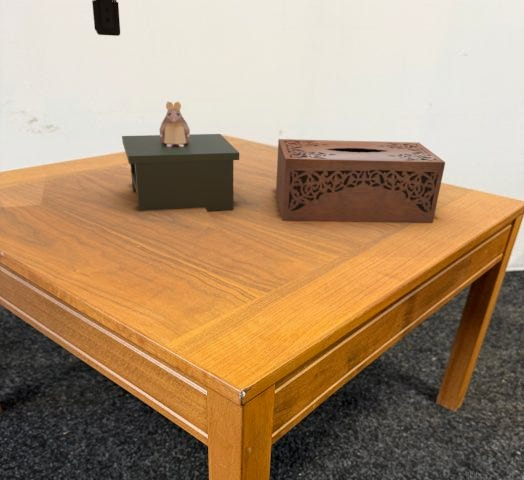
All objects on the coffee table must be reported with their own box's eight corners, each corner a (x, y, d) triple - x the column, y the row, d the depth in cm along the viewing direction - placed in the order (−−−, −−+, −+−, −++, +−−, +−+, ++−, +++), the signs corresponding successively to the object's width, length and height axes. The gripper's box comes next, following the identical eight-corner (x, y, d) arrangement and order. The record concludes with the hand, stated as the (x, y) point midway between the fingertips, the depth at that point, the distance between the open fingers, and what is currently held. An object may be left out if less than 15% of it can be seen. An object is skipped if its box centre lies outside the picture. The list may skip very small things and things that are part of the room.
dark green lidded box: (133, 215, 91) (128, 156, 86) (127, 189, 103) (121, 135, 98) (238, 209, 96) (239, 152, 91) (220, 185, 108) (220, 133, 103)
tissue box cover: (282, 220, 92) (285, 158, 86) (275, 194, 104) (278, 139, 98) (432, 222, 93) (445, 162, 88) (409, 196, 106) (418, 142, 100)
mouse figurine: (189, 137, 99) (188, 96, 96) (190, 147, 92) (189, 104, 89) (160, 137, 98) (158, 96, 95) (159, 147, 92) (156, 103, 88)
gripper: (65, -111, 77) (80, 29, 86) (63, -135, 63) (80, 35, 72) (120, -105, 79) (128, 31, 88) (129, -127, 65) (138, 38, 74)
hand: (107, 33), depth 80 cm, fingers open, 9 cm apart
